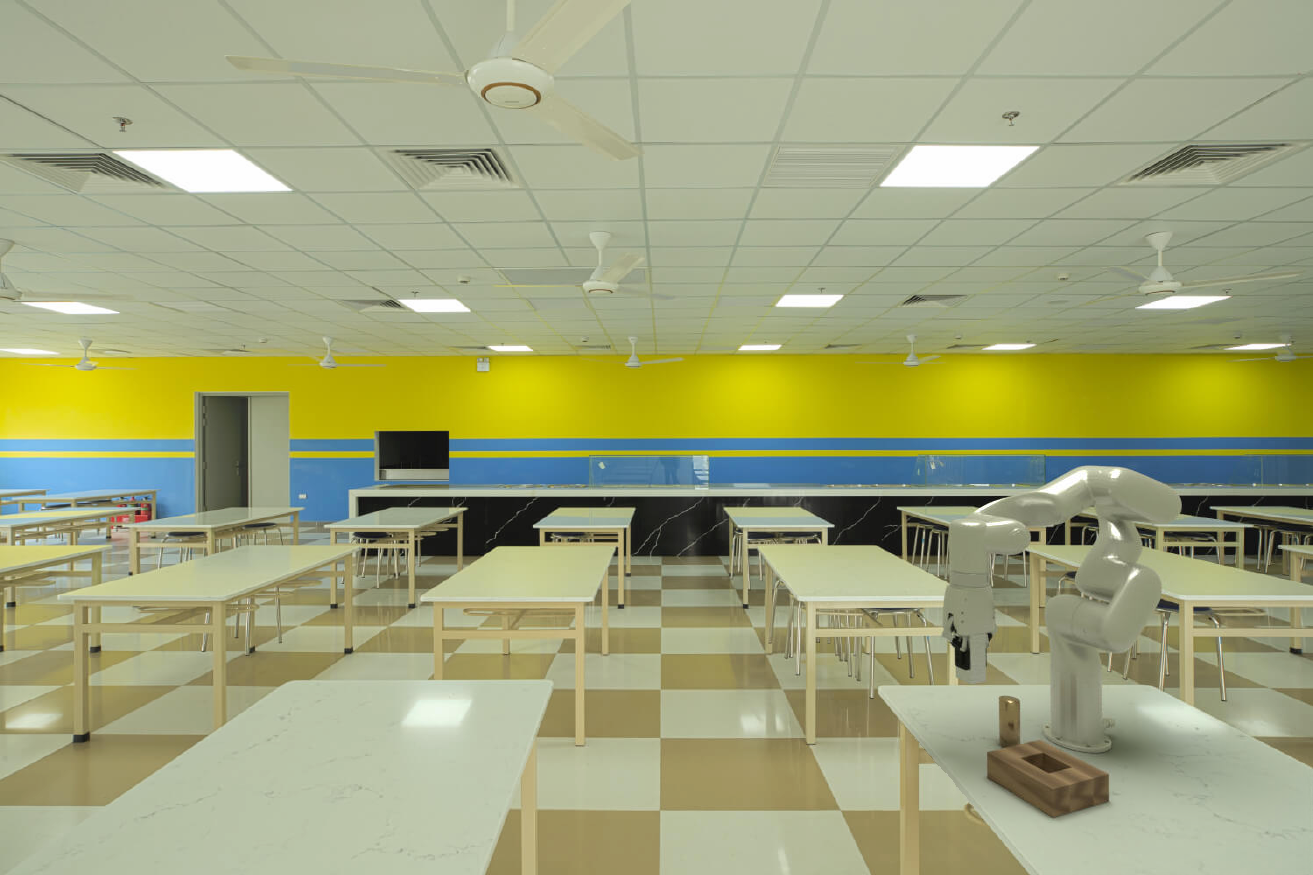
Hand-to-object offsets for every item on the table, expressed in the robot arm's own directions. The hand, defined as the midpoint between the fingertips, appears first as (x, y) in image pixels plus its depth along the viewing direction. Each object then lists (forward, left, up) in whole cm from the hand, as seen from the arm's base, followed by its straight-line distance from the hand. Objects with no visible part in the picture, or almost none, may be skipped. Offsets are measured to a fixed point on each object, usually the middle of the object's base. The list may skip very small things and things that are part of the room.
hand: (970, 665), depth 133 cm
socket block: (-4, +14, -19) cm, 24 cm away
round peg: (-12, -1, -19) cm, 22 cm away
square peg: (0, 0, -3) cm, 3 cm away
